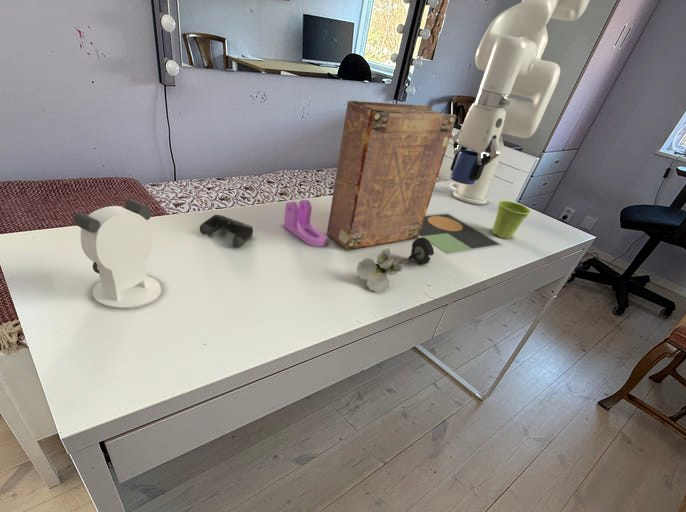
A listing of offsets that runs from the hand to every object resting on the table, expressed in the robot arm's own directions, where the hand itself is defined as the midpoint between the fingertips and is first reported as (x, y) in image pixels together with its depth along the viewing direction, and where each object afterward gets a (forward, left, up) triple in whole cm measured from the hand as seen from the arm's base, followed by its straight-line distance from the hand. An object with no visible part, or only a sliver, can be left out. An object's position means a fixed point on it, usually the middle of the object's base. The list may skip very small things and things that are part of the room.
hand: (464, 174), depth 110 cm
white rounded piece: (+10, -91, -15) cm, 93 cm away
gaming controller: (-7, -66, -15) cm, 68 cm away
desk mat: (+3, -2, -15) cm, 16 cm away
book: (+1, -28, -15) cm, 32 cm away
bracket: (-4, -46, -15) cm, 49 cm away
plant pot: (+9, +16, -15) cm, 24 cm away
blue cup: (0, 0, -2) cm, 2 cm away
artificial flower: (+20, -36, -15) cm, 44 cm away
